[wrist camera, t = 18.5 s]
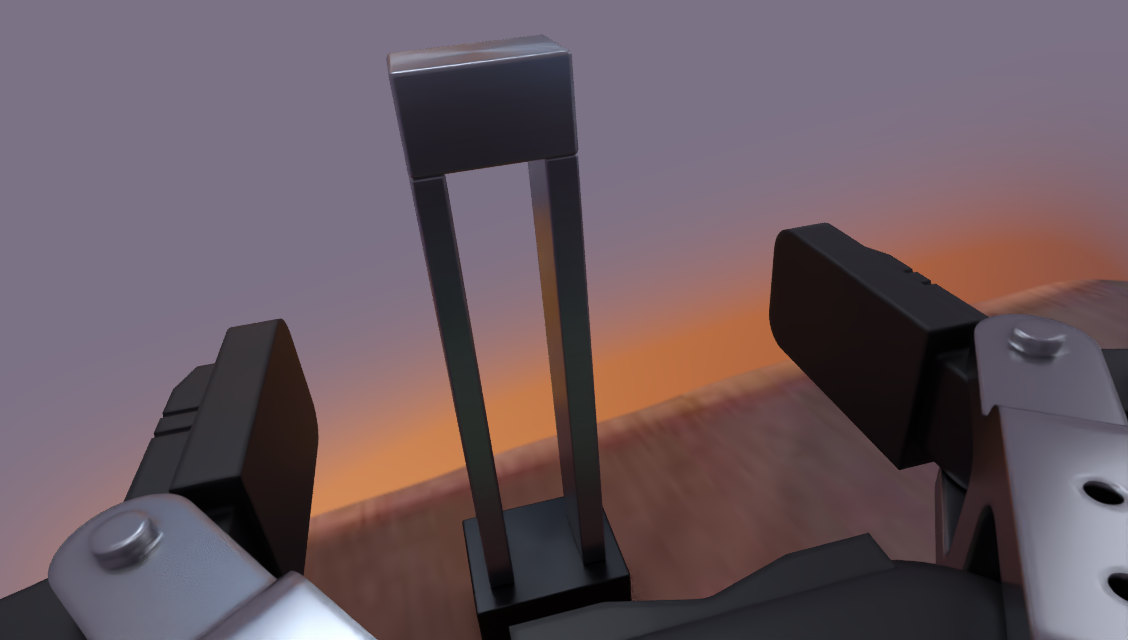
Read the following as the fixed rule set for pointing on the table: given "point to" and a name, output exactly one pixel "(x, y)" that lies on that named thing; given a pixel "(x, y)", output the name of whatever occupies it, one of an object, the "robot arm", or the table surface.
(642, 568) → the table surface
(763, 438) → the table surface
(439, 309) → the tall two-post stand
